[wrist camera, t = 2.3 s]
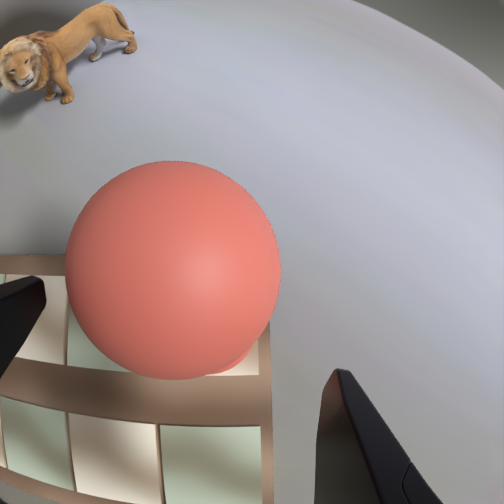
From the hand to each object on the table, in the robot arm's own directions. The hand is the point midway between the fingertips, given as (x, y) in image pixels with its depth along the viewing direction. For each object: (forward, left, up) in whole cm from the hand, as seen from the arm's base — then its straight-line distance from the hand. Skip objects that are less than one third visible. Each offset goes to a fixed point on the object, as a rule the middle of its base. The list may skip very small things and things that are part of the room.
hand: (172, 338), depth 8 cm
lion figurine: (+23, +12, -10) cm, 28 cm away
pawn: (+1, 0, -8) cm, 8 cm away
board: (-3, +8, -9) cm, 13 cm away
